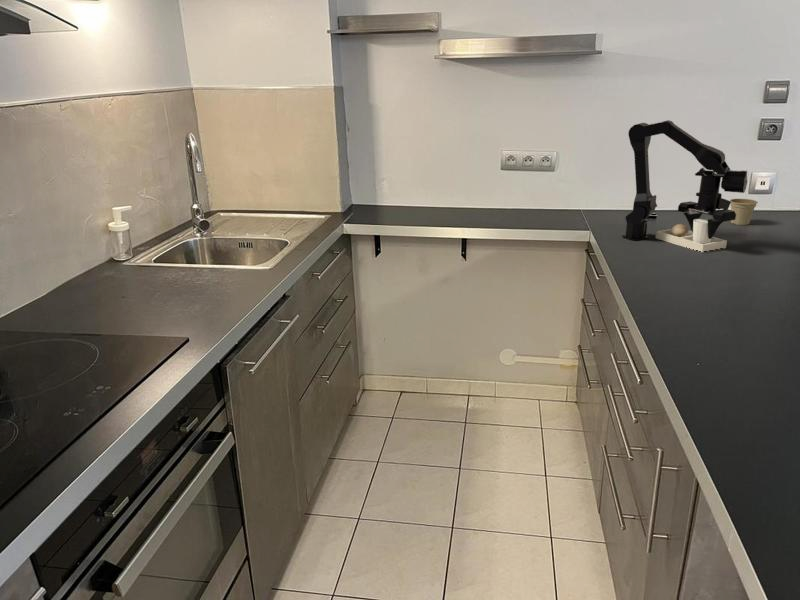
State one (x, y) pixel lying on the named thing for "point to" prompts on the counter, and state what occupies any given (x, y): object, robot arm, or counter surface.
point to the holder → (690, 241)
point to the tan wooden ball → (679, 230)
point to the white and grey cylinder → (700, 231)
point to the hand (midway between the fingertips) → (702, 236)
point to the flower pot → (742, 210)
